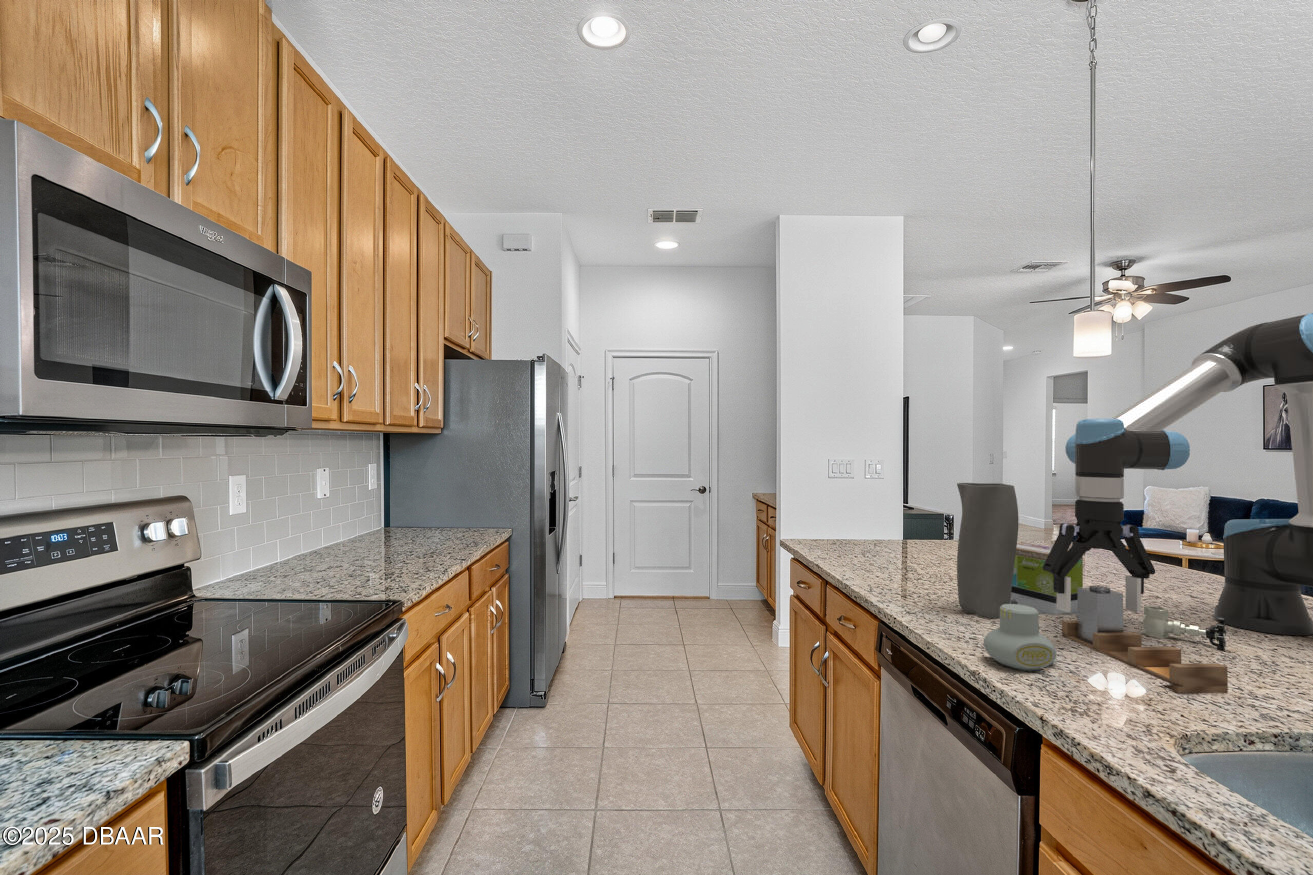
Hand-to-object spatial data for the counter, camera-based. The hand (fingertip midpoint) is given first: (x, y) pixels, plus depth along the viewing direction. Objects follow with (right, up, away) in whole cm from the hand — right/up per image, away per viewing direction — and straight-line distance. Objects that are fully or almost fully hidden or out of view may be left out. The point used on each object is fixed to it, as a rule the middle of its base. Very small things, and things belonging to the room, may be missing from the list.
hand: (1098, 611), depth 115 cm
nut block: (0, -6, 0) cm, 6 cm away
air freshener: (-20, -7, -9) cm, 23 cm away
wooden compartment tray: (+1, -7, -8) cm, 11 cm away
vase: (-9, -8, +22) cm, 25 cm away
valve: (+18, -8, +2) cm, 19 cm away
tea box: (+6, -8, +28) cm, 30 cm away
